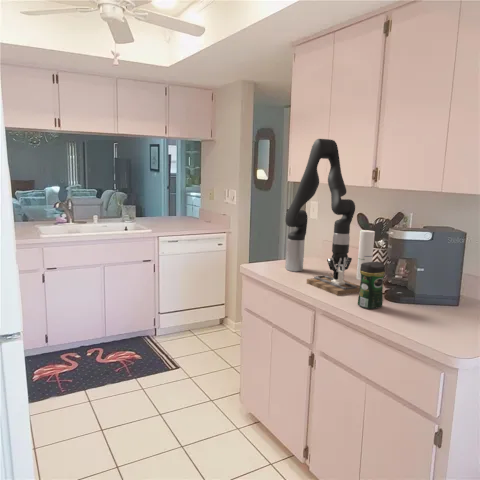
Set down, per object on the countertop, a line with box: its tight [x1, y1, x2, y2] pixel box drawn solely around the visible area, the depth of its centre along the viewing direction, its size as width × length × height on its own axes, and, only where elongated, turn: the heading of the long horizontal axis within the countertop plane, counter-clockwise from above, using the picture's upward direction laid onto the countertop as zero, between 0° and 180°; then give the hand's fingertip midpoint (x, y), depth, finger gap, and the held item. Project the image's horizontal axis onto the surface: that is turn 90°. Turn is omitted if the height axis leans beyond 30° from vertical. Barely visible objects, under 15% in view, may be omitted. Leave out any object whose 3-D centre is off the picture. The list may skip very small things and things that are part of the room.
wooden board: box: [306, 274, 360, 296], centre depth 193 cm, size 22×16×3 cm
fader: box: [331, 270, 345, 285], centre depth 191 cm, size 5×4×6 cm
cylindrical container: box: [355, 229, 376, 281], centre depth 209 cm, size 7×7×25 cm
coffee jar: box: [357, 260, 386, 310], centre depth 165 cm, size 10×8×19 cm
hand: (338, 278), depth 191 cm, fingers closed on fader, 2 cm apart
